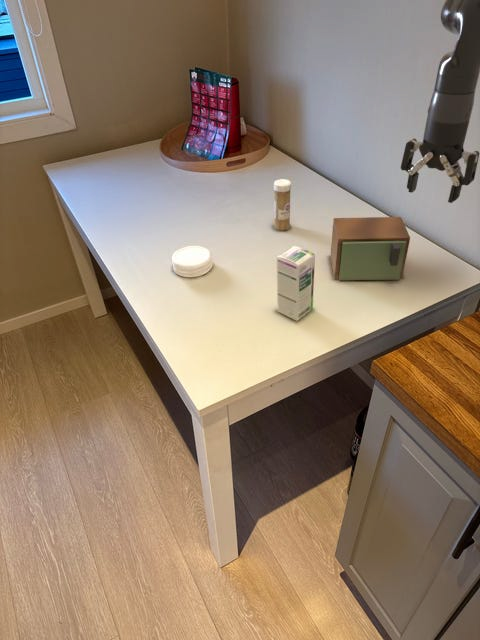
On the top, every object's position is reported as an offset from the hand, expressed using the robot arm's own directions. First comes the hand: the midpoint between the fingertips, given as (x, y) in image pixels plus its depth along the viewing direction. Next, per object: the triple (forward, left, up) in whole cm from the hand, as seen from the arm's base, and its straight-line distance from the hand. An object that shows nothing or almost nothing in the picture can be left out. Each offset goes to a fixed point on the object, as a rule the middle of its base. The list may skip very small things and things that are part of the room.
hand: (431, 196), depth 101 cm
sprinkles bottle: (+30, -27, -22) cm, 46 cm away
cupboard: (+10, -6, -21) cm, 24 cm away
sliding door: (+10, +1, -21) cm, 23 cm away
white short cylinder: (+53, -7, -22) cm, 58 cm away
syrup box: (+28, +11, -22) cm, 37 cm away
